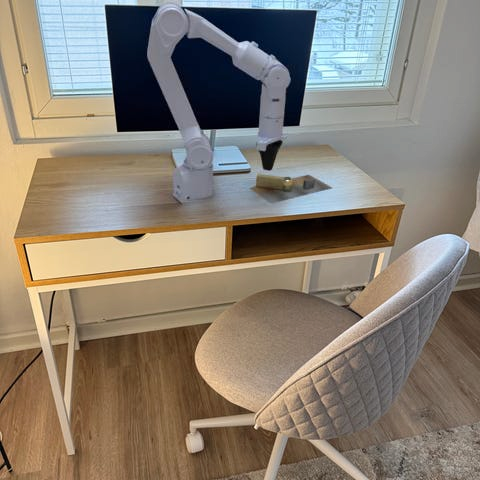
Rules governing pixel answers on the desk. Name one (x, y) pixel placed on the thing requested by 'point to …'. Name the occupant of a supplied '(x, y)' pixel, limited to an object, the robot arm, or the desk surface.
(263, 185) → the lock bar
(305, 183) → the block
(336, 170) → the desk surface
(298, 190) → the board
